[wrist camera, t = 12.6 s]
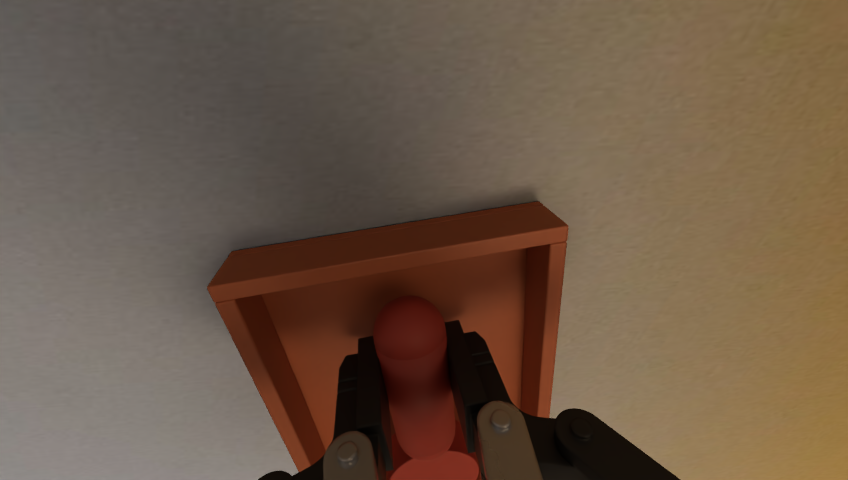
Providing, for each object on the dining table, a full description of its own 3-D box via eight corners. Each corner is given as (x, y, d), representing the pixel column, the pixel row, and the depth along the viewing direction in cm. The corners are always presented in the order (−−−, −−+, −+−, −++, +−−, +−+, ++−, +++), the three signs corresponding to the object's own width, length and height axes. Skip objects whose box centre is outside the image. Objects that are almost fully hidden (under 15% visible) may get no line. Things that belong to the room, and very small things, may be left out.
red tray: (230, 250, 12) (205, 287, 10) (538, 200, 13) (569, 225, 11) (328, 476, 19) (324, 524, 17) (526, 432, 20) (544, 473, 18)
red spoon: (343, 292, 12) (338, 342, 10) (457, 271, 12) (477, 316, 10) (393, 476, 17) (396, 535, 15) (471, 459, 18) (486, 513, 15)
